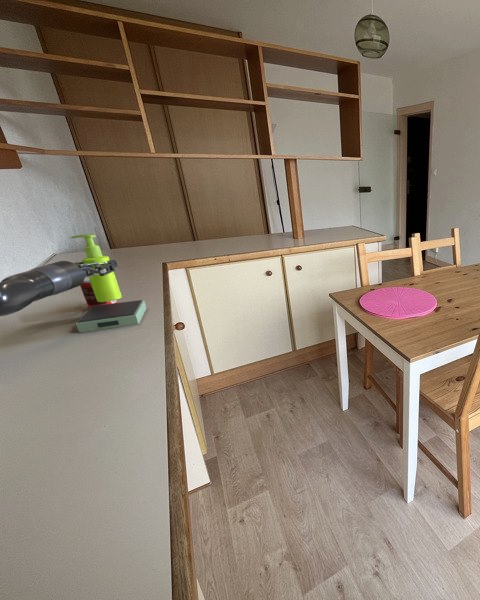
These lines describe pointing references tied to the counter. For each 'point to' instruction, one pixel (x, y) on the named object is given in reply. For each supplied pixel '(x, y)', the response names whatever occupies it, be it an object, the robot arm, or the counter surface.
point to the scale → (111, 316)
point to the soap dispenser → (101, 285)
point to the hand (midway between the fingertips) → (103, 262)
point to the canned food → (91, 294)
